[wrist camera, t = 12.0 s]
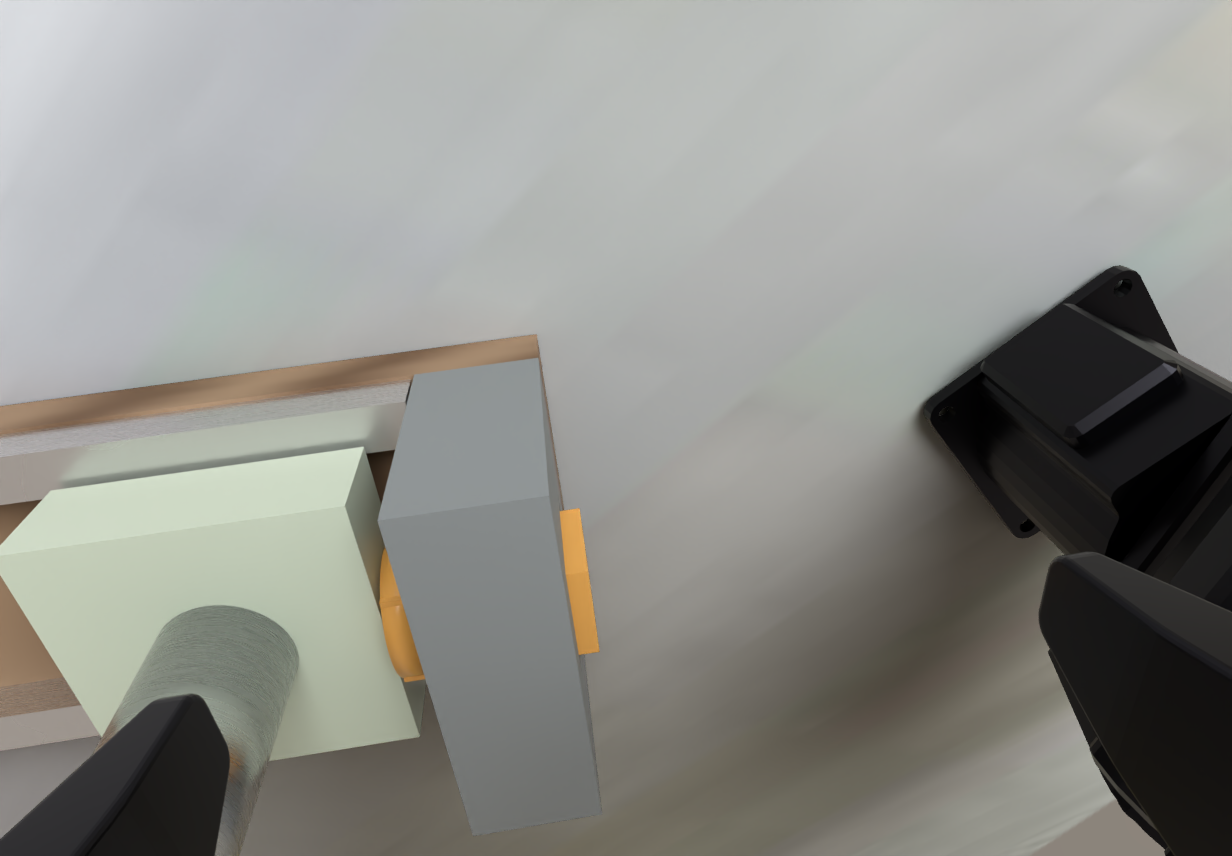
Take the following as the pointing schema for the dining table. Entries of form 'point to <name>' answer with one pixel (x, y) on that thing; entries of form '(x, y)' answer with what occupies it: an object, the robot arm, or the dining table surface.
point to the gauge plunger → (578, 588)
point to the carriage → (222, 608)
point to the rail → (411, 530)
